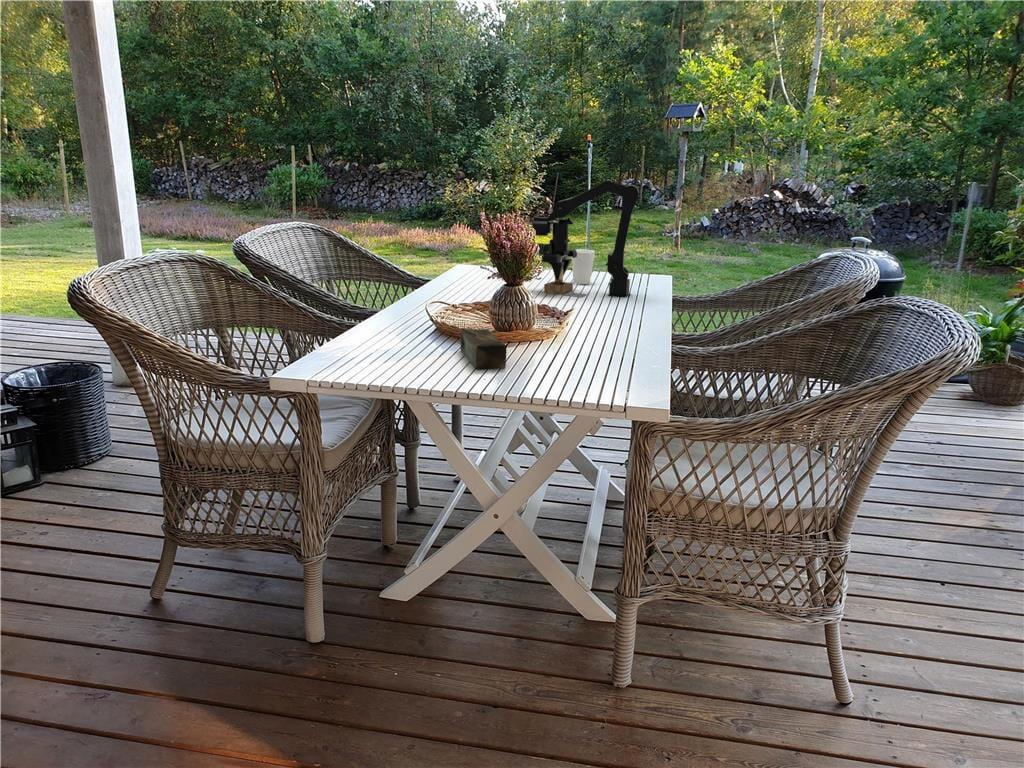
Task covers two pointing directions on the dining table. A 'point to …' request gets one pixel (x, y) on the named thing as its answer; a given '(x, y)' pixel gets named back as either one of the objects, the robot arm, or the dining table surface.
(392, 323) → the dining table surface
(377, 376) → the dining table surface
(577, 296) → the mat
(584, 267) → the foam cup
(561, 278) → the pin
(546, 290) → the socket block
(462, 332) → the beverage carton
